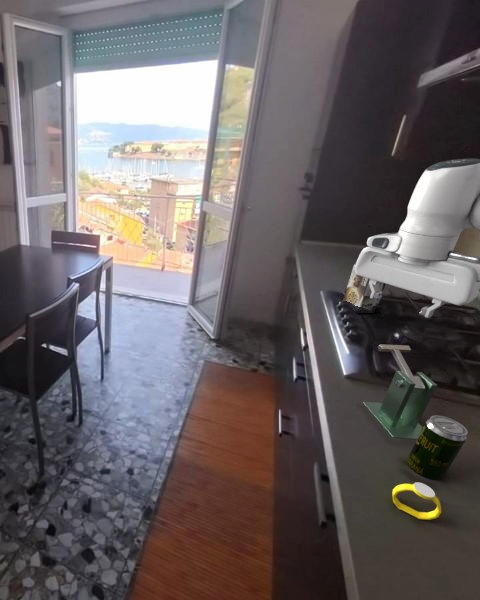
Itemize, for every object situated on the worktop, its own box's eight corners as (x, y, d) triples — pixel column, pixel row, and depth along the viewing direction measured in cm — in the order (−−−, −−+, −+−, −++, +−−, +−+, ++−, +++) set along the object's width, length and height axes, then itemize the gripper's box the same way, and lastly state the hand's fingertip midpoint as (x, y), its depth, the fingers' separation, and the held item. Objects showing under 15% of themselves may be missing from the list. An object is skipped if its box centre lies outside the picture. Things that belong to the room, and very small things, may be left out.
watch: (387, 507, 63) (399, 484, 60) (387, 496, 64) (399, 473, 62) (433, 529, 59) (448, 505, 57) (432, 516, 61) (446, 492, 58)
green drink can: (424, 460, 71) (449, 414, 66) (449, 484, 66) (478, 436, 61) (397, 460, 71) (420, 414, 66) (420, 484, 66) (447, 437, 61)
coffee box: (375, 314, 127) (391, 271, 120) (357, 314, 127) (372, 272, 120) (358, 303, 135) (371, 262, 128) (340, 303, 135) (353, 263, 128)
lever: (375, 348, 83) (381, 342, 81) (403, 349, 82) (410, 344, 80) (397, 392, 76) (404, 387, 74) (428, 394, 75) (436, 389, 73)
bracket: (361, 405, 86) (379, 361, 80) (397, 407, 85) (418, 363, 79) (391, 441, 76) (414, 393, 70) (433, 444, 75) (459, 396, 69)
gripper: (502, 257, 64) (469, 324, 70) (377, 232, 81) (359, 288, 87) (484, 263, 62) (451, 331, 68) (360, 236, 79) (342, 293, 85)
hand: (398, 307), depth 77 cm, fingers open, 8 cm apart
